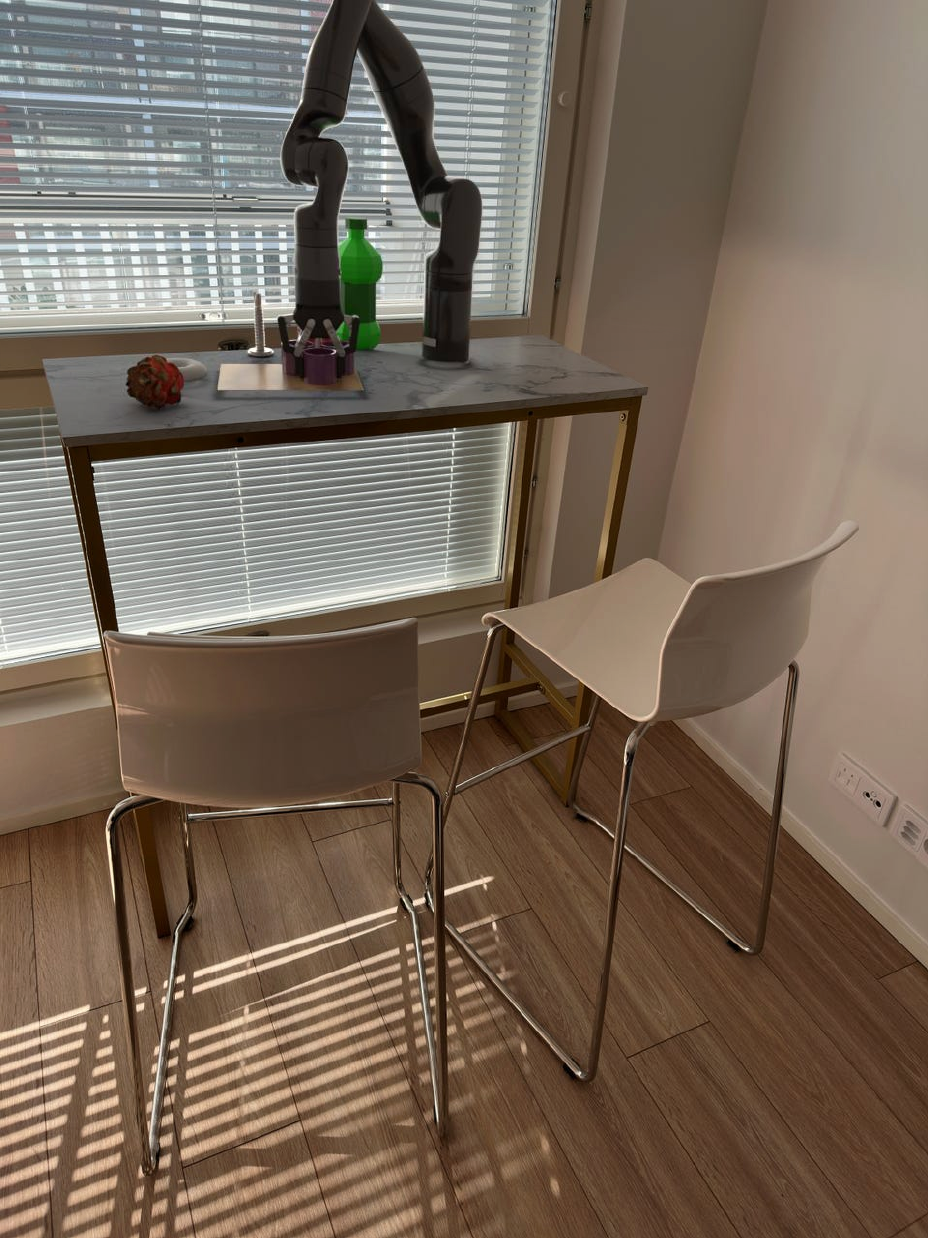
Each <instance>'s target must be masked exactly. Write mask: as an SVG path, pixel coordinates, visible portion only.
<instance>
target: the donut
mask: <svg viewBox="0 0 928 1238" xmlns="http://www.w3.org/2000/svg"><path fill="white" fill-rule="evenodd" d="M166 360H167V362H169V363H174V364H175V365H176V366H177V367H178V369H179V370H180V372H181V373H182V375H183V378H184V382H188V381H195V380H198V379H202V378H204V377H206V376H207V373H208V372H207V368H206V367H205V365H203V364H202V362H200V361H198V360H195V359H191V358H183V357H171V358H170V357H169V358H166Z"/></svg>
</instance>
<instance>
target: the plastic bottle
mask: <svg viewBox="0 0 928 1238" xmlns="http://www.w3.org/2000/svg"><path fill="white" fill-rule="evenodd" d="M344 219H345V221H344V222H345V223H344V224H345V226H344V227H345V229H346V230H347V237H346V238H345V239H344V240H342V242H341V243H339V244H338V246H339V255H340V268H341V310H342V312H343V314H344V315H350V316H353V315H357V316H358V317H359V319H360V325H359V332H358V339H357V346H356V350H371V351H372V350H373V351H374V349H376V347H378V345H379V343H380V341H381V328H380V325H379V322H378V320H377V283H378V282H379V281H380V280H381V278H382V275H383V271H384V268H383V267H384V263H383V259H382V256H381V253H380V252H379V251H378V250H377V249H376V248H375V247H374V245H373V244H372V243H371V242H369V241H368V240H367V239H366V238H365V230H368V218H367V217H360V216H346V217H344ZM336 333H337V335H338V337H339V339H340V340H341V341H348V340H349V333H350V329H348V328H347V325H346V322H345V321H343V322H342V324H341V325H340V327H339V328H338V330H337V331H336Z"/></svg>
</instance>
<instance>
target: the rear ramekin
mask: <svg viewBox="0 0 928 1238" xmlns="http://www.w3.org/2000/svg"><path fill="white" fill-rule="evenodd" d="M297 340H298V339H289V343H290V344H291V345H294V346H295V345H296V342H297ZM280 343H281V344H280V348H281V364H282V373H284V374H286V375H290V376H299V375H296V373H295V362H294V356H293V355H292V354H290V353H285V352H284V351H283V346H282V341H280ZM307 348H315V343H314V342H311V341H307V343H306V345H305V347H304V349H307ZM304 349H303V350H304Z"/></svg>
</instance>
